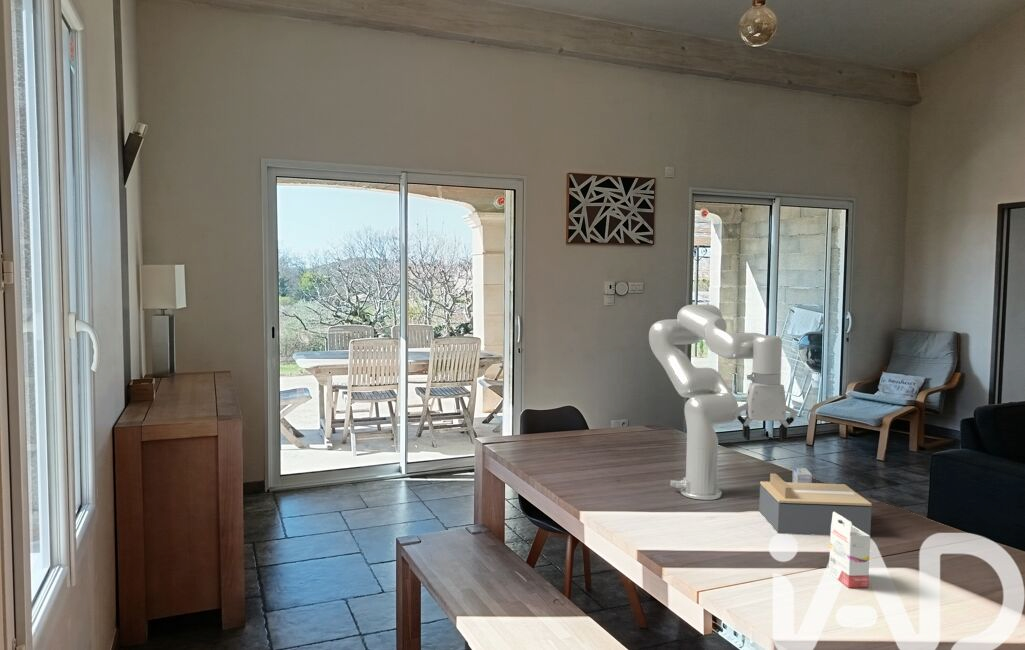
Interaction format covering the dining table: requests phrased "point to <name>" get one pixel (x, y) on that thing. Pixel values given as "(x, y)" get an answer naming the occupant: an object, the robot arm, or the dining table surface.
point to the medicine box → (801, 476)
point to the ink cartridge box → (849, 553)
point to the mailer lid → (812, 493)
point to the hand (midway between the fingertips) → (764, 439)
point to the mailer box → (810, 515)
